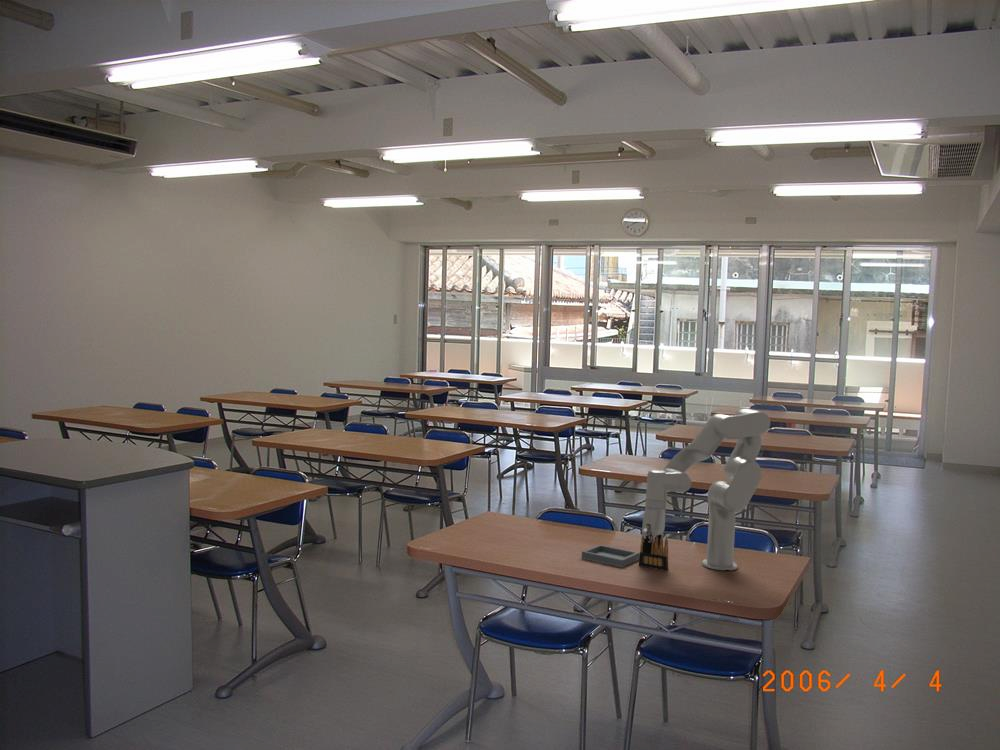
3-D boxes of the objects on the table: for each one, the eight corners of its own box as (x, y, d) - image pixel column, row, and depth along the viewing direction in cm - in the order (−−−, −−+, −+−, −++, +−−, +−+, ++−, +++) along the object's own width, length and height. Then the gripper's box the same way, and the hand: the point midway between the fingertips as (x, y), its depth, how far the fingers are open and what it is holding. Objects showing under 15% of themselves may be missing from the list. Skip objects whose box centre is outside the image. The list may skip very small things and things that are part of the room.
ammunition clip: (638, 565, 289) (640, 533, 288) (640, 564, 290) (641, 532, 290) (666, 570, 283) (668, 537, 283) (668, 569, 285) (669, 536, 285)
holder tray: (599, 551, 307) (599, 544, 307) (639, 559, 297) (639, 552, 297) (581, 558, 295) (581, 551, 295) (622, 567, 285) (622, 560, 285)
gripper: (656, 499, 295) (652, 544, 296) (636, 505, 281) (632, 552, 282) (674, 502, 291) (671, 548, 291) (655, 509, 277) (652, 557, 277)
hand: (652, 550), depth 287 cm, fingers open, 9 cm apart
